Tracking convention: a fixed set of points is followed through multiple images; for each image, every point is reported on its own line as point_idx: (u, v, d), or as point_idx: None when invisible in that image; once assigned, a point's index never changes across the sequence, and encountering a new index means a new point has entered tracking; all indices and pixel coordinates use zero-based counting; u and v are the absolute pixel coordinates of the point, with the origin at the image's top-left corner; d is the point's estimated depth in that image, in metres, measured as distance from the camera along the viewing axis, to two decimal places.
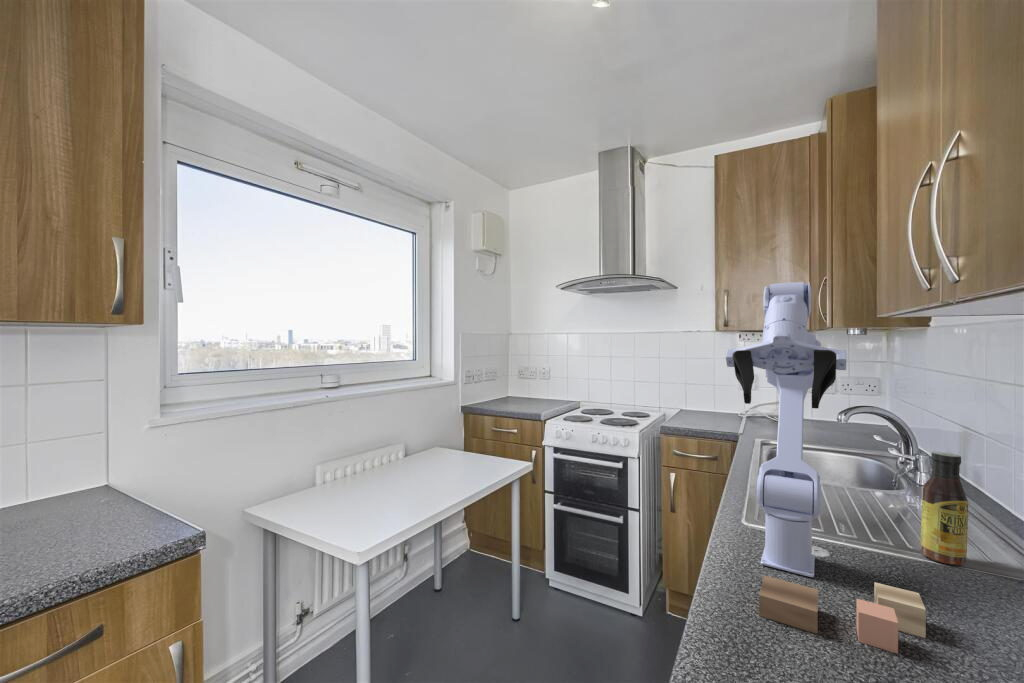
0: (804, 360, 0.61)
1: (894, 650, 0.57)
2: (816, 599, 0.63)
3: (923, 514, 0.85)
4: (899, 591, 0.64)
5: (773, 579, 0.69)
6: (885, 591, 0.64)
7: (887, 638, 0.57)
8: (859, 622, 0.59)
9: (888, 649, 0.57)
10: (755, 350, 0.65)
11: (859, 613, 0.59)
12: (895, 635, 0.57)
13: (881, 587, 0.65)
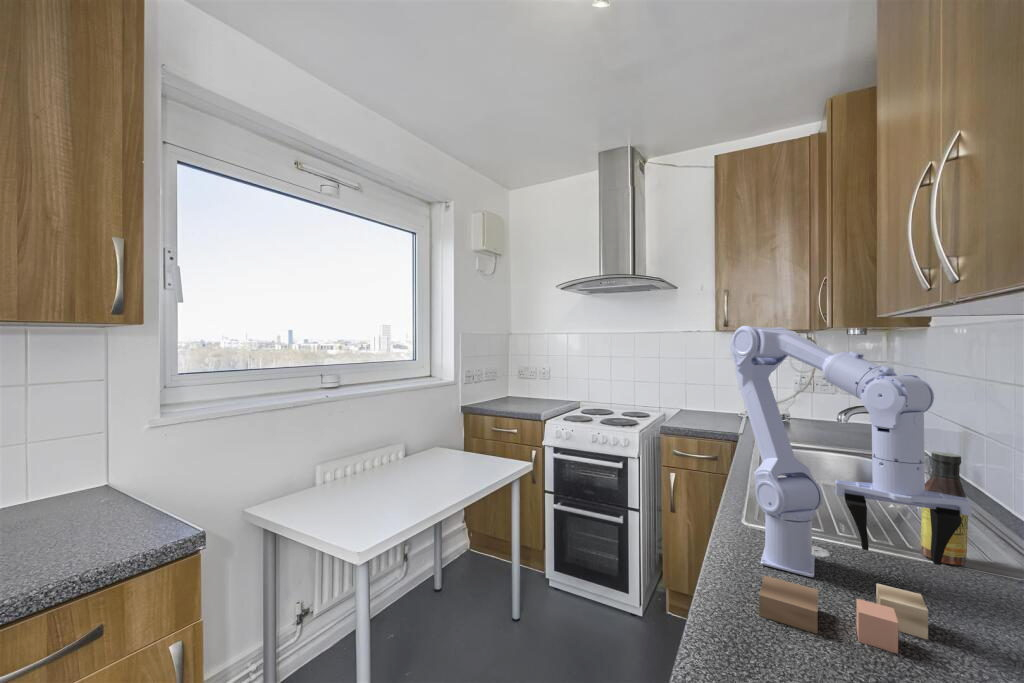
0: (923, 504, 0.62)
1: (894, 650, 0.57)
2: (816, 599, 0.63)
3: (923, 514, 0.85)
4: (902, 592, 0.64)
5: (773, 579, 0.69)
6: (887, 592, 0.64)
7: (887, 638, 0.57)
8: (859, 622, 0.59)
9: (888, 649, 0.57)
10: None
11: (859, 613, 0.59)
12: (895, 635, 0.57)
13: (883, 588, 0.65)
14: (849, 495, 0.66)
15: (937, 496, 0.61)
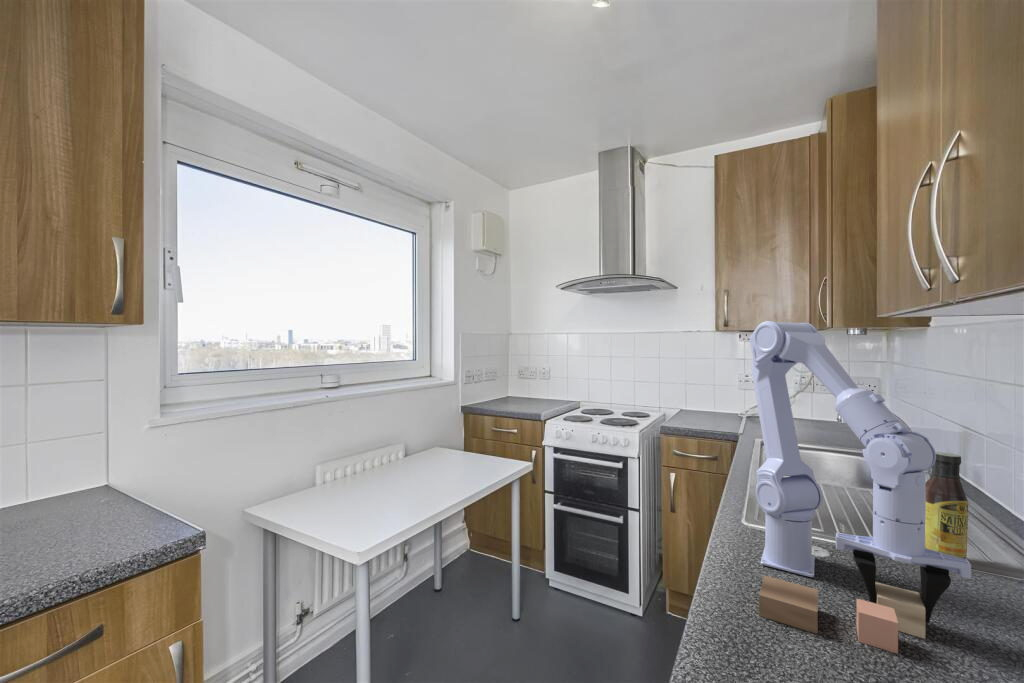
0: (923, 564, 0.62)
1: (894, 650, 0.57)
2: (816, 599, 0.63)
3: None
4: (899, 590, 0.64)
5: (773, 579, 0.69)
6: (885, 591, 0.64)
7: (887, 638, 0.57)
8: (859, 622, 0.59)
9: (888, 649, 0.57)
10: None
11: (859, 613, 0.59)
12: (895, 635, 0.57)
13: (881, 587, 0.65)
14: (858, 552, 0.66)
15: (937, 556, 0.61)
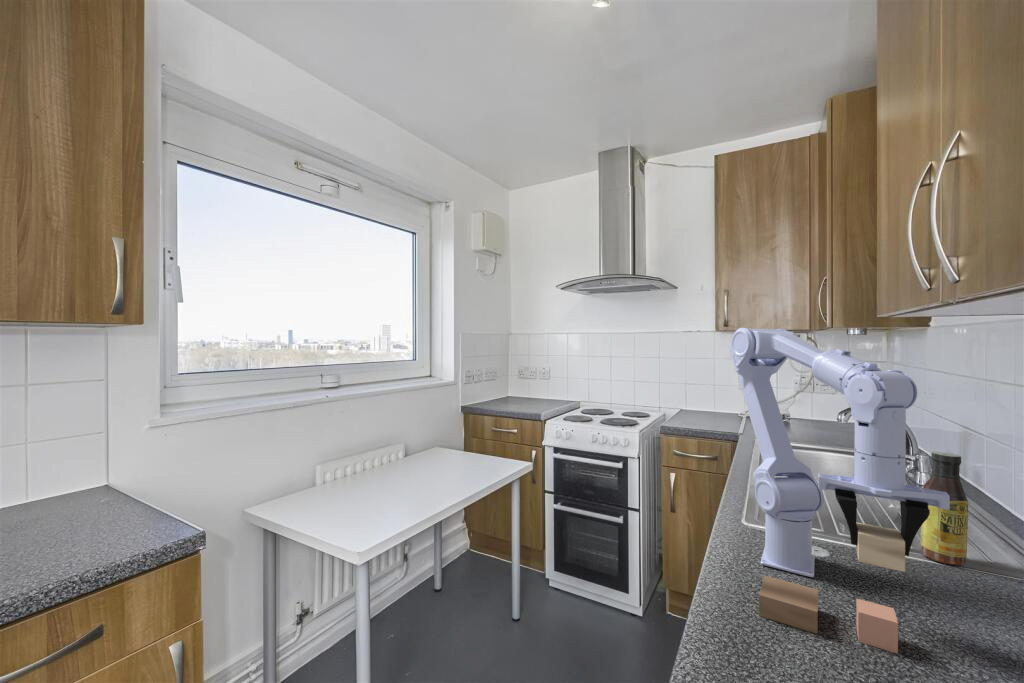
0: (903, 498, 0.62)
1: (894, 650, 0.57)
2: (816, 599, 0.63)
3: None
4: (880, 528, 0.65)
5: (773, 579, 0.69)
6: (866, 529, 0.65)
7: (887, 637, 0.57)
8: (859, 622, 0.59)
9: (888, 649, 0.57)
10: None
11: (859, 613, 0.59)
12: (895, 635, 0.57)
13: (862, 526, 0.66)
14: (839, 490, 0.66)
15: (917, 490, 0.62)
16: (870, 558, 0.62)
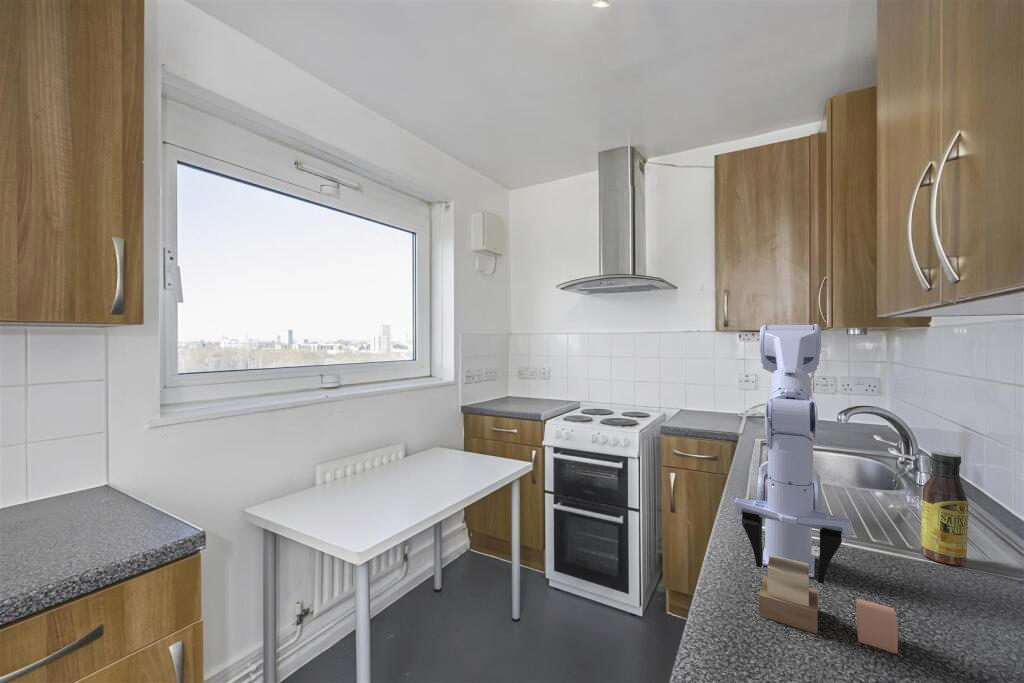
0: (810, 525, 0.64)
1: (894, 649, 0.57)
2: (816, 599, 0.63)
3: (923, 514, 0.85)
4: (790, 562, 0.66)
5: None
6: (776, 562, 0.66)
7: (887, 637, 0.57)
8: (859, 622, 0.59)
9: (888, 649, 0.57)
10: None
11: (859, 613, 0.59)
12: (895, 635, 0.57)
13: (774, 559, 0.67)
14: (746, 514, 0.68)
15: (823, 517, 0.63)
16: (777, 592, 0.64)
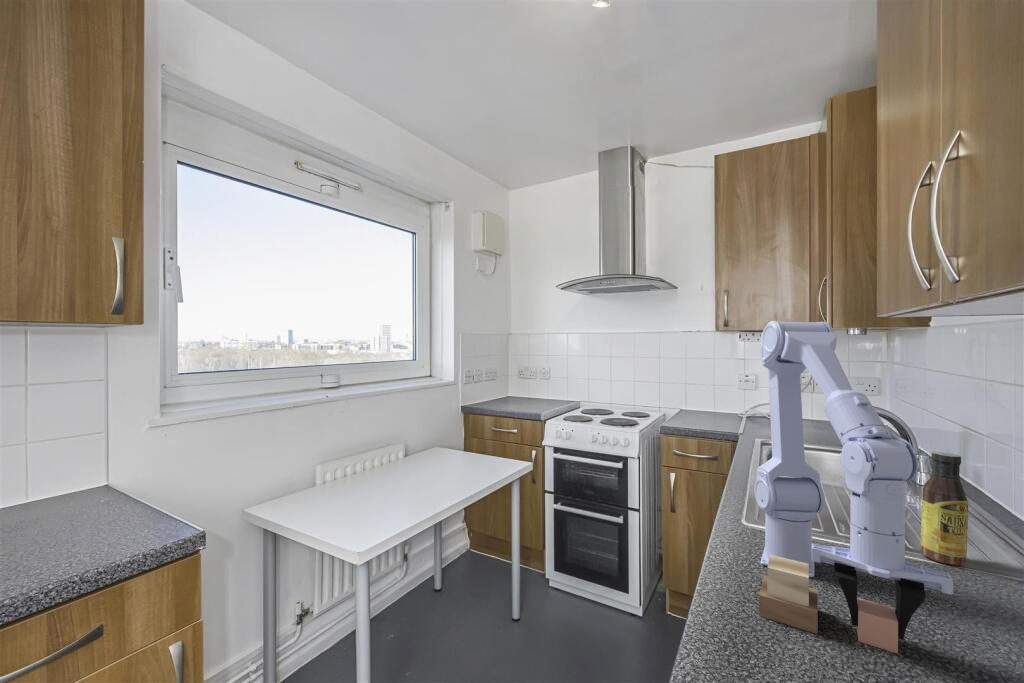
0: (902, 578, 0.58)
1: (894, 649, 0.57)
2: (816, 599, 0.63)
3: (923, 514, 0.85)
4: (790, 562, 0.66)
5: None
6: (776, 562, 0.66)
7: (887, 637, 0.57)
8: (859, 621, 0.59)
9: (888, 648, 0.57)
10: None
11: (859, 612, 0.59)
12: (895, 634, 0.57)
13: (774, 559, 0.67)
14: (839, 565, 0.61)
15: (917, 570, 0.57)
16: (777, 592, 0.64)
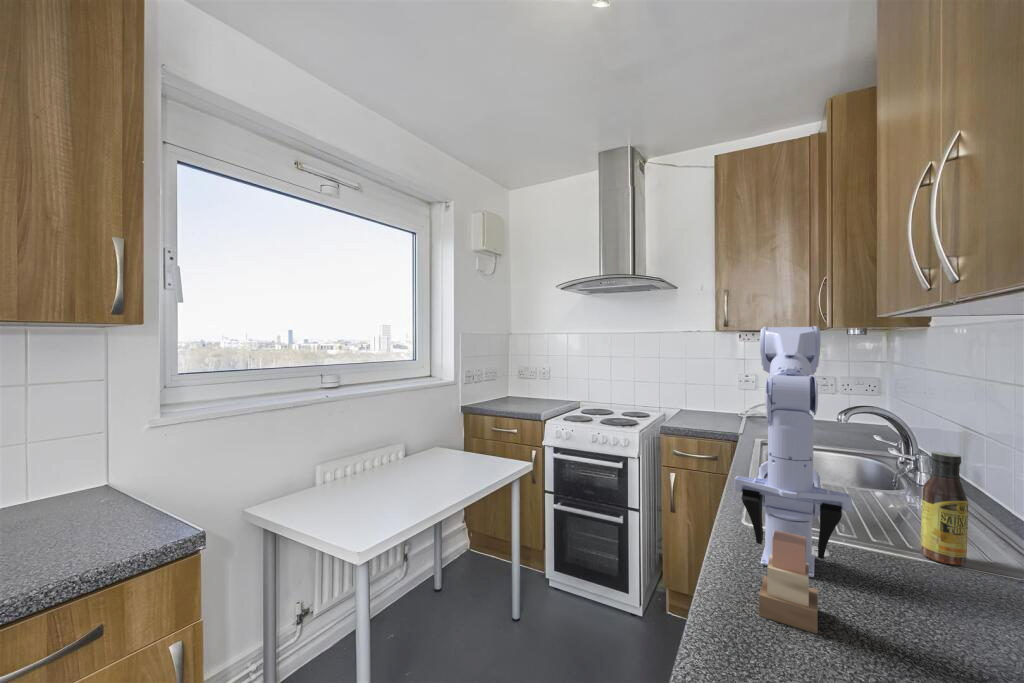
0: (810, 500, 0.64)
1: (802, 571, 0.63)
2: (816, 599, 0.63)
3: (923, 514, 0.85)
4: None
5: None
6: None
7: (796, 560, 0.63)
8: (773, 548, 0.65)
9: (797, 571, 0.63)
10: None
11: (773, 540, 0.65)
12: (803, 557, 0.63)
13: None
14: (746, 491, 0.68)
15: (823, 492, 0.63)
16: (777, 592, 0.64)
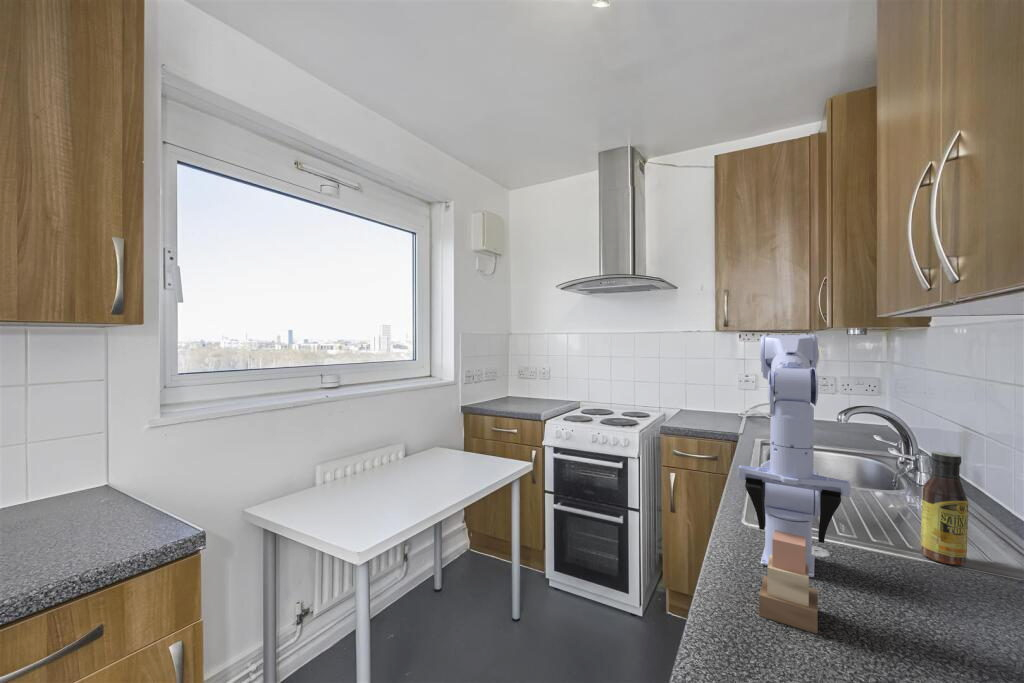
0: (811, 487, 0.67)
1: (802, 571, 0.63)
2: (816, 599, 0.63)
3: (923, 514, 0.85)
4: None
5: None
6: None
7: (796, 560, 0.63)
8: (773, 548, 0.65)
9: (797, 571, 0.63)
10: None
11: (773, 540, 0.65)
12: (803, 557, 0.63)
13: None
14: (749, 479, 0.71)
15: (823, 479, 0.66)
16: (777, 592, 0.64)
